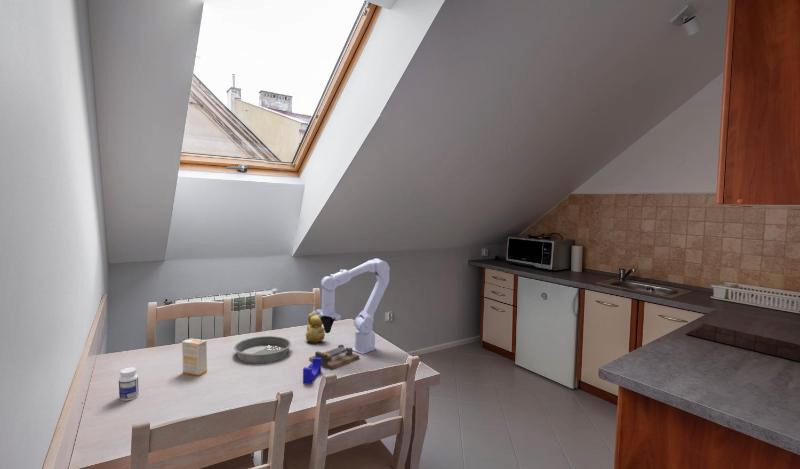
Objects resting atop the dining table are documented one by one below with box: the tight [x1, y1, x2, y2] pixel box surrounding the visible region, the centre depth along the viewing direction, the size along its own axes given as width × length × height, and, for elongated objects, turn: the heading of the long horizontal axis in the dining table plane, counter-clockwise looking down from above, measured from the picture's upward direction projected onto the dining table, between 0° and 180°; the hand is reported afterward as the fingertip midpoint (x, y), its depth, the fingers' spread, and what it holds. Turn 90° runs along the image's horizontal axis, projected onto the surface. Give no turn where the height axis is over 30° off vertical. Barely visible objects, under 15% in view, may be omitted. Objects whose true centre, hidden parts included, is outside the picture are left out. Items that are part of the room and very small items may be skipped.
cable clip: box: [302, 357, 322, 385], centre depth 169 cm, size 12×4×6 cm, turn 171°
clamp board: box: [308, 344, 360, 370], centre depth 187 cm, size 17×14×5 cm
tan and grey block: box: [322, 345, 349, 359], centre depth 187 cm, size 14×4×1 cm, turn 142°
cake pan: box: [233, 335, 292, 364], centre depth 192 cm, size 25×25×4 cm
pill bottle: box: [118, 366, 140, 402], centre depth 147 cm, size 6×6×10 cm
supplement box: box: [181, 337, 208, 377], centre depth 169 cm, size 8×5×13 cm, turn 71°
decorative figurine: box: [305, 310, 326, 344], centre depth 209 cm, size 10×8×15 cm
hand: (327, 332), depth 192 cm, fingers closed
